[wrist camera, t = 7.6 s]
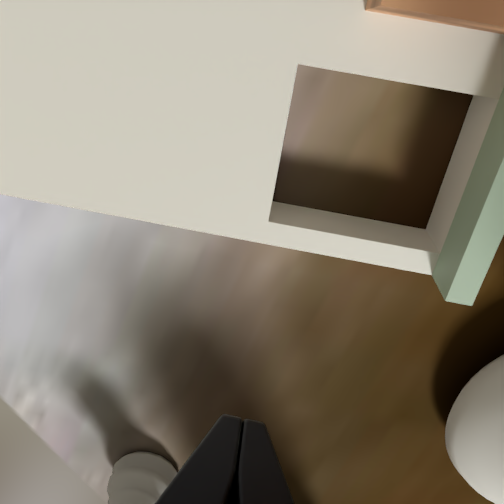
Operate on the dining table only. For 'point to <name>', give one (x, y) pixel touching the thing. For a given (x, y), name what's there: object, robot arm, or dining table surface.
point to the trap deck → (238, 120)
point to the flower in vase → (480, 432)
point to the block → (447, 12)
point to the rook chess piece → (139, 478)
